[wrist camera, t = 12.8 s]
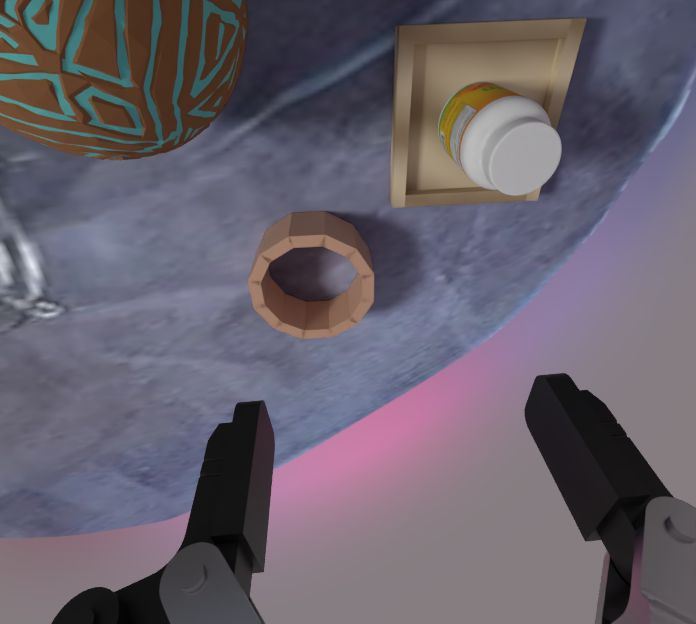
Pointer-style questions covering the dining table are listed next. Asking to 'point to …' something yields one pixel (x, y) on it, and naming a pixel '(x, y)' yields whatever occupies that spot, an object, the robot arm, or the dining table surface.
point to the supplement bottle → (499, 138)
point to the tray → (457, 71)
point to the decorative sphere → (118, 71)
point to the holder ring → (312, 315)
